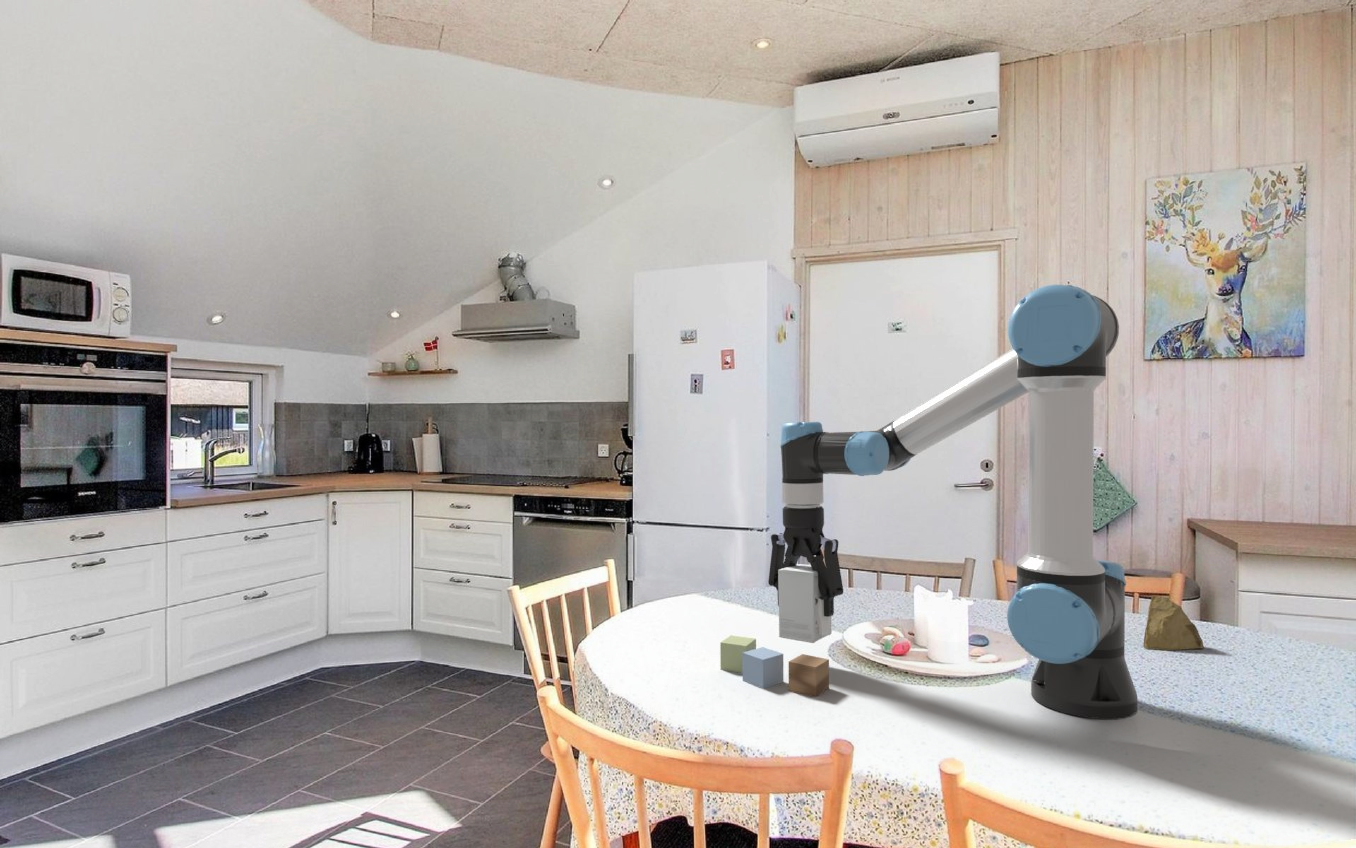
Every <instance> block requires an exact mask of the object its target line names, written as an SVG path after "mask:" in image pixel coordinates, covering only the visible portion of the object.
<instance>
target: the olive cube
mask: <svg viewBox="0 0 1356 848" xmlns="http://www.w3.org/2000/svg"><path fill="white" fill-rule="evenodd" d="M719 645H720V646H719V647H720V650H719V651H720V652H719V655H720V670H723V671H728V672H729V671H730V672H735V673H741V674H743V657H742V653H743V652H747V651H750V650H754V649H757V638H752V637H745V636H740V635H739V636H738V635H729V636H728V637H727V638H725V639H724V640H722V641H721V642H720V644H719Z"/></svg>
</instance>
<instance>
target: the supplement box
mask: <svg viewBox="0 0 1356 848" xmlns="http://www.w3.org/2000/svg"><path fill="white" fill-rule="evenodd" d="M778 588H779V606H778V631H779V632H778V633H779V634H778V635H779V636H778V637H779V638H781V639H787V640H793V641H798V642H804V643H810V644H815V643H816V642H819V640H821V639H823V638H824V639H825V638H826V637H827V636H828V637H829V636H830V635H831V634H832V628H831V633H828V634H825V635H819V626H818V598H819V597H822V595H821V593H820V590H819V587H818V572H817V571H813V570H812V567H811V564H803V563H801V564H800V563H797V564H796V566H791V567H786V568H783V569H779V570H778Z"/></svg>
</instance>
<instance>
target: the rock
mask: <svg viewBox="0 0 1356 848" xmlns="http://www.w3.org/2000/svg"><path fill="white" fill-rule="evenodd" d="M1150 598H1151V600H1150V602H1149V607H1148V612H1147V621H1146V626H1145V629H1144V631H1145V632H1144V639H1143V648H1144V650H1151V649H1152V650H1159V651H1160V650H1161V651H1175V650H1190V649H1191V650H1192V649H1204V648H1205V646H1204V641H1203V639H1202V638H1201V635H1200V631H1199V630H1198V628H1197V625H1195V623H1193V622H1192V621H1191V620H1190V619H1189V617H1188V615H1187V614H1186V613H1185V612H1184V610H1183V608H1182V607H1181V605H1179V604H1177V603H1175V602H1173V600H1171V599H1169V598H1168V597H1165V596H1162V595H1155V594H1152V595H1151V597H1150Z"/></svg>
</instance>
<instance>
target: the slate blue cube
mask: <svg viewBox="0 0 1356 848" xmlns="http://www.w3.org/2000/svg"><path fill="white" fill-rule="evenodd" d="M742 657H743V673H742V682H745V683H748V684H751V685H753V686H756V687H758V688H761V689H766V688H769V687H772V686H776V685H779V684H781V683H784V653H782V652H779V651H777V650H773V649H770V648H767V647H763V646H761V647H758V648H756V649H754V650H750V651H747V652H743V653H742Z"/></svg>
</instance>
